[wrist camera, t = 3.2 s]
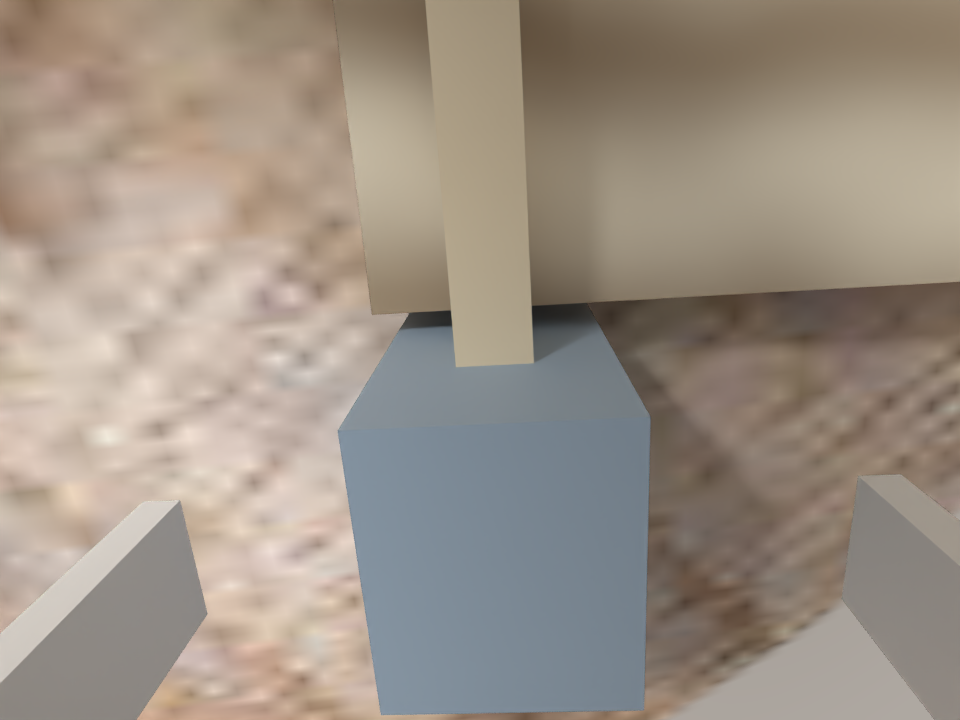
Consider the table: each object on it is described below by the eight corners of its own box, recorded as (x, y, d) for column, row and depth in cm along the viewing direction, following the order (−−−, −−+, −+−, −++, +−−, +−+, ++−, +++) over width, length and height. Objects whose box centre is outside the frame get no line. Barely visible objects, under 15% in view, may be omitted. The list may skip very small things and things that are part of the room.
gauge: (371, -53, 15) (230, -276, 7) (581, -71, 14) (666, -326, 7) (429, 496, 19) (380, 715, 12) (588, 490, 19) (644, 710, 11)
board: (329, -240, 14) (290, -328, 11) (1299, -346, 12) (1494, -469, 10) (390, 293, 17) (371, 315, 15) (1139, 249, 16) (1253, 266, 14)
